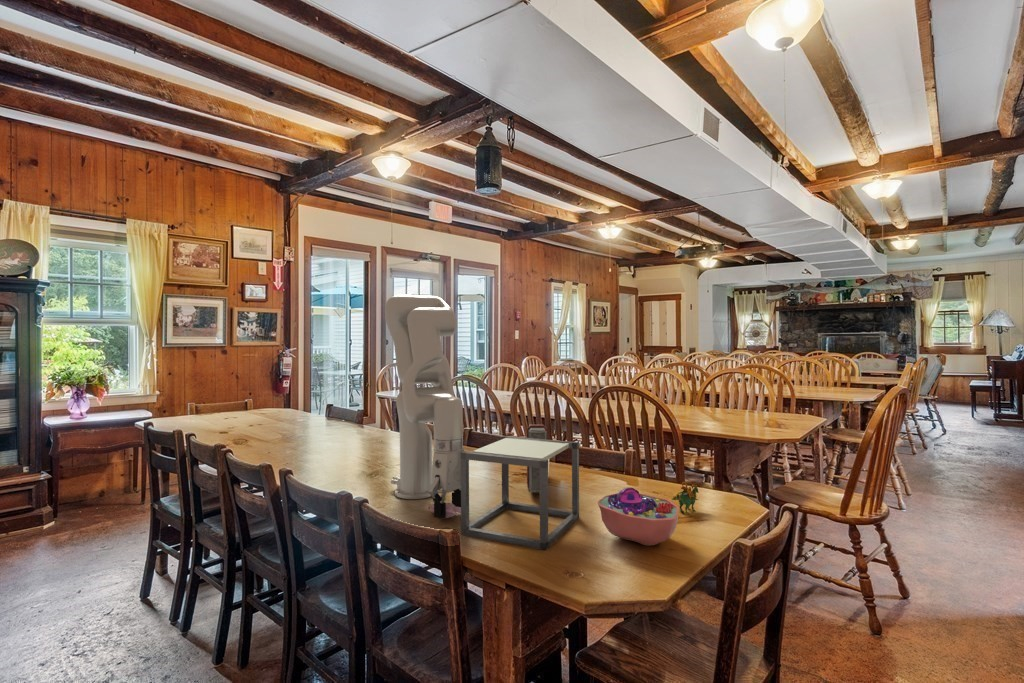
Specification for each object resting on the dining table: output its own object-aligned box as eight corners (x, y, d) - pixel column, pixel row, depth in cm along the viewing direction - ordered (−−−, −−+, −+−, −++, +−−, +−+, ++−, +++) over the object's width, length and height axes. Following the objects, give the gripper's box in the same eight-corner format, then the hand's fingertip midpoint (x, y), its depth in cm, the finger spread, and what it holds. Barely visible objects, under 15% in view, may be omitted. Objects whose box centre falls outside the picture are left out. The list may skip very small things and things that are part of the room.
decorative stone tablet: (549, 428, 152) (545, 421, 182) (526, 428, 152) (526, 421, 182) (549, 496, 151) (545, 477, 181) (527, 496, 151) (526, 477, 181)
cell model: (635, 564, 108) (635, 509, 108) (584, 531, 127) (584, 484, 126) (699, 550, 115) (699, 498, 115) (641, 521, 133) (641, 476, 133)
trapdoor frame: (461, 534, 125) (460, 452, 124) (504, 506, 145) (503, 435, 145) (545, 550, 115) (545, 461, 115) (579, 517, 136) (578, 442, 136)
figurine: (703, 509, 142) (703, 479, 142) (676, 519, 134) (676, 487, 134) (693, 506, 144) (693, 476, 144) (666, 515, 137) (666, 484, 137)
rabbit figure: (422, 517, 141) (449, 524, 129) (421, 494, 142) (447, 499, 129) (443, 512, 144) (471, 518, 132) (441, 490, 145) (469, 494, 133)
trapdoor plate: (472, 455, 126) (472, 450, 126) (506, 441, 143) (506, 437, 143) (542, 463, 118) (542, 458, 118) (569, 447, 135) (569, 442, 135)
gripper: (441, 452, 127) (442, 525, 127) (477, 440, 143) (478, 505, 143) (416, 450, 130) (417, 521, 130) (453, 438, 146) (454, 501, 146)
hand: (448, 512), depth 136 cm, fingers closed on rabbit figure, 7 cm apart
